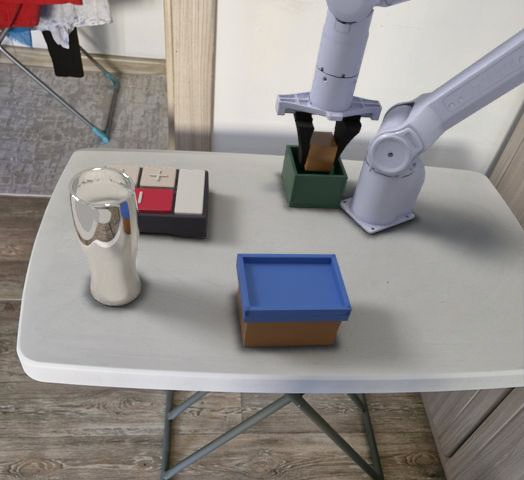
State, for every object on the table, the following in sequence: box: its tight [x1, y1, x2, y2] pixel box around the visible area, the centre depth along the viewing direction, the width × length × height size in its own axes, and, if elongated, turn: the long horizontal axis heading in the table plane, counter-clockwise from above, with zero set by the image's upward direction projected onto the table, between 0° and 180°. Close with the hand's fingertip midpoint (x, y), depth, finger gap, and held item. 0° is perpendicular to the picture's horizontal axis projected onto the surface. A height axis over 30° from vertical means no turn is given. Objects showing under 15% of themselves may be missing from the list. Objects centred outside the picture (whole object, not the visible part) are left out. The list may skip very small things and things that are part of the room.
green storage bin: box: [280, 144, 349, 209], centre depth 81 cm, size 8×8×6 cm
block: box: [304, 130, 338, 171], centre depth 78 cm, size 4×4×4 cm
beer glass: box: [68, 166, 142, 307], centre depth 60 cm, size 7×7×15 cm
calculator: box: [104, 163, 210, 239], centre depth 74 cm, size 11×4×15 cm
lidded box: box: [235, 253, 353, 348], centre depth 63 cm, size 12×9×7 cm
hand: (316, 161), depth 79 cm, fingers closed on block, 4 cm apart
